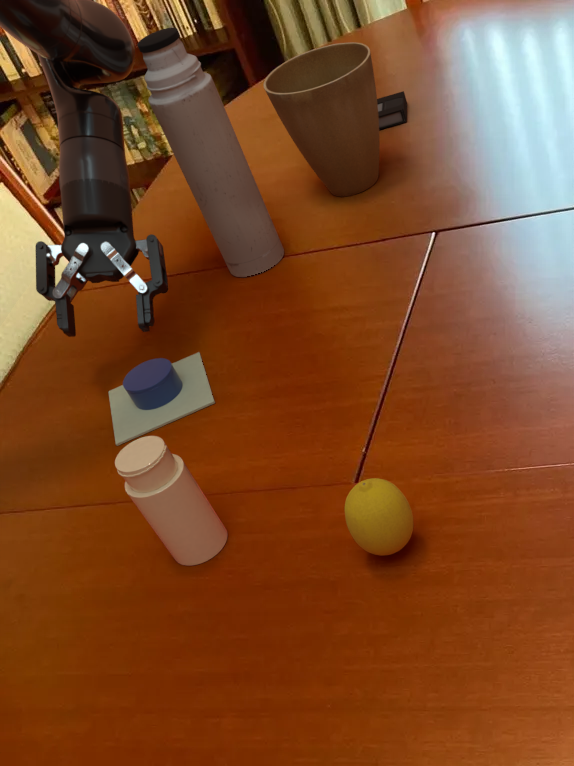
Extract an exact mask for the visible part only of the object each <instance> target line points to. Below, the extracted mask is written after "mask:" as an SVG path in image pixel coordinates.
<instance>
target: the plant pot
mask: <svg viewBox="0 0 574 766" xmlns="http://www.w3.org/2000/svg"><path fill="white" fill-rule="evenodd" d="M374 73H375V72H374V67H373V59H372V53H371V49H370V47H369V46H368V44H365V43H362V42H353V41H351V42H339V43H333V44H329V45H323V46H321V47H318V48H314V49H310V50H308V51H304V52H302V53H299V54H298V55H295V56H293V57H292V58H289V59H288V60H286V61H285V62H283V63H282V64H279V65H278V66H276V67H275V68H274V69H272V71H270V73H269V74H268V75H267V76H266V77H265V79H264V81H263V85H262V86H263V89H264V91H265V93H266V95H267V97H268V99H269V101H270V103H271V105H272V106H273V109H274V110H275V112H276V114H277V116H278V118H279V119H280V122H281V123H282V125H283V127H284V128H285V130H286V132H287V133H288V136H290V138H291V140H292V141H293V143H294V145H295V146H296V147H297V149H298V151H299V153H300V154H301V155H302V157H303V158H304V160H305V161H306V162H307V164H308V165H309V167H310V168H311V169H312V171H313V172H314V174H315V175H316V176H317V177H318V179H319V180H320V181H321V183H323V185H324V186H325V187H326V188H327V190H328V191H329V192H330V193H331V194H332V195H333V196H335V197H349V196H354V195H357V194H360V193H362V192H365V191H366V190H368V189H370V188H371V187H372V186H374V185H375V184H376V183H377V181H378V179H379V177H380V176H379V175H380V174H379V173H380V130H379V118H378V105H377V99H378V96H377V88H376V87H377V86H376V80H375V79H376V78H375V74H374Z"/></svg>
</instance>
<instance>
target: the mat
mask: <svg viewBox="0 0 574 766" xmlns="http://www.w3.org/2000/svg"><path fill="white" fill-rule="evenodd" d="M202 361H203V358H202V354H201V352H200V351H198V352H195V353H193V354H191V355H189V356H186V357H184V358H182V359H180V360H177V361H174V362H173V363H172V362H171V364H172V366H173V367H174V369H175V371H176V372H177V374H178V376H179V378H180V379H181V381H182V384H183V386H182V390H181V391H180V393H179V394H178V395H177V396H176V397H175V398H174V399H173V400H172V401H170V402H169V403H167V404H166V405H164V406H161V407H159V408H156V409H152V410H142V409H139V408H137V407H136V405H135V404H134V402H133V401H132V399H131V398H130V396H129V395H128V393H127V391H126V390H125V388H124V387H123V384H122V385H119V386H117V387H115V388H113V389H110V390H109V391H108V399H109V400H108V401H109V406H110V413H111V421H112V428H113V435H114V441H115V442H114V443H115V446H117V447H118V446H120V445H123V444H125V443H127V442H129V441H132V440H134V439H136V438H137V439H138V438H140V437H141V436H143V435H146V434H148V433H150V432H153V431H155V430H157V429H159V428H162V427H165V426H167V425H169V424H171V423H174V422H176V421H177V420H180V419H183V418H185V417H187V416H190V415H192V414H194V413H196V412H199V411H201V410H203V409H206V408H208V407H210V406H212V405H215V404H216V401H215V398H214V394H213V392H212V388H211V385H210V381H209V377H208V374H207V372H206V368H205V365H203V364H204V362H202ZM206 374H207V375H206ZM212 394H213V395H212Z"/></svg>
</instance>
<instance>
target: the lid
mask: <svg viewBox="0 0 574 766" xmlns="http://www.w3.org/2000/svg"><path fill="white" fill-rule="evenodd" d="M122 385H123V387H124V388H125V390H126V391H127V393H128V395H129V396H130V398H131V399H132V401H133V402H134V404H135V405H136V407H137V408H139V409H142V410H152V409H156V408H159V407H161V406H164V405H166V404H167V403H169V402H170V401H172V400H173V399H174V398H175V397H176V396H177V395H178V394H179V393H180V391H181V390H182V386H183V384H182V381H181V379H180V378H179V376H178V374H177V372H176V371H175V369H174V367H173V366H172V362H171V361H170V359H167V358H163V357H157V358H152V359H148V360H146V361H145V360H144V362H141V363H139V364H138V365H135V367H133V368H132V369H131V370H130V371H128V372H127V374H126V375H125V376H124V378H123V381H122Z"/></svg>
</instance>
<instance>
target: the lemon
mask: <svg viewBox="0 0 574 766" xmlns="http://www.w3.org/2000/svg"><path fill="white" fill-rule="evenodd" d="M344 519H345V524H346V527H347V530H348V531H349V534H350V535H351V537H352V538H353V541H354V542H355V543H356V544H357V545H358V546H359V547H360V548H361V549H362V550H364V551H365V552H367V553H369V554H371V555H375V556H390V555H394V554H395V553H398V552H400V551H401V550H402V549H403V548H404V547H405V546H406V545H407V544H408V543H409V541H410V540H411V537H412V534H413V531H414V515H413V510H412V508H411V505H410V502H409V501H408V499H407V497H406V496H405V494H404V493H403V492H402V491H401V489H400V488H399V487H398V486H397V485H395V484H394V483H393V482H391V481H389V480H387V479H384V478H379V477H376V478H375V477H373V478H367V479H363V480H362V481H360V482H358V483H356V485H354V486H353V487H352V489H350V490H349V492H348V494H347V496H346V498H345V502H344Z"/></svg>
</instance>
